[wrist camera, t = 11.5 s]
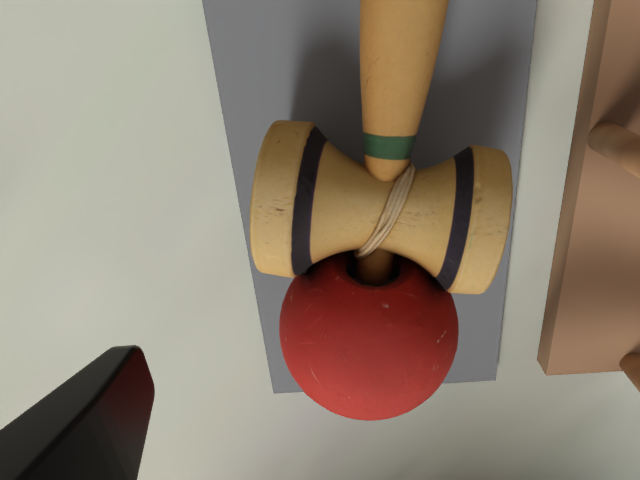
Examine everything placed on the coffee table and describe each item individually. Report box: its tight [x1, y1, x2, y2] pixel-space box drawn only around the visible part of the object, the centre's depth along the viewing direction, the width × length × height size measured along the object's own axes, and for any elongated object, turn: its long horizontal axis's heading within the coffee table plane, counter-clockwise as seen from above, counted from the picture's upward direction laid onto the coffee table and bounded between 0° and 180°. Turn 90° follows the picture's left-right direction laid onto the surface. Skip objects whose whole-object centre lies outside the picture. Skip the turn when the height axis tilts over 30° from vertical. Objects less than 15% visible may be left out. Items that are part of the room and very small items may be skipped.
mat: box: [202, 0, 537, 393], centre depth 17 cm, size 22×10×1 cm, turn 5°
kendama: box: [249, 0, 513, 420], centre depth 14 cm, size 8×6×18 cm
